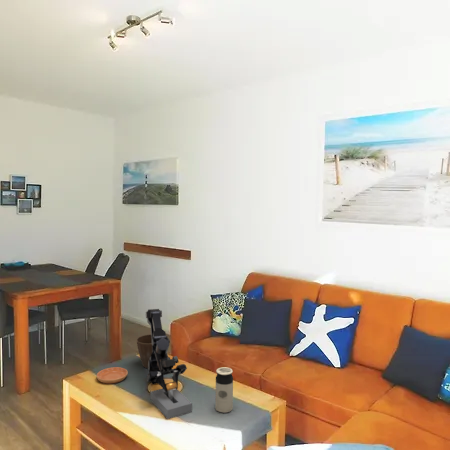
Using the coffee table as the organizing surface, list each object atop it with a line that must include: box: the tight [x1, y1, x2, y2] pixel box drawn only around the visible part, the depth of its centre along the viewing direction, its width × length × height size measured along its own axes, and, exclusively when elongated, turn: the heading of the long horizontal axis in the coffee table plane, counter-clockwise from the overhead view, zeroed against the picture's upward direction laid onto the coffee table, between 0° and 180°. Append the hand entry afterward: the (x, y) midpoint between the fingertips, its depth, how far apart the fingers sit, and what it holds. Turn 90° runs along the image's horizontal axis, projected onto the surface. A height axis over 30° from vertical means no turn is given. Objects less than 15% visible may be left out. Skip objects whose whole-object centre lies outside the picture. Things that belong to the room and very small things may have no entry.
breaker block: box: [149, 387, 193, 420], centre depth 185 cm, size 20×12×4 cm, turn 32°
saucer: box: [96, 366, 129, 385], centre depth 213 cm, size 16×16×3 cm
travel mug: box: [214, 366, 234, 414], centre depth 183 cm, size 8×8×18 cm
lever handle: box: [165, 381, 177, 402], centre depth 185 cm, size 3×5×10 cm
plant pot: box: [136, 334, 152, 369], centre depth 229 cm, size 15×15×16 cm
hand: (171, 390), depth 184 cm, fingers closed on lever handle, 5 cm apart
